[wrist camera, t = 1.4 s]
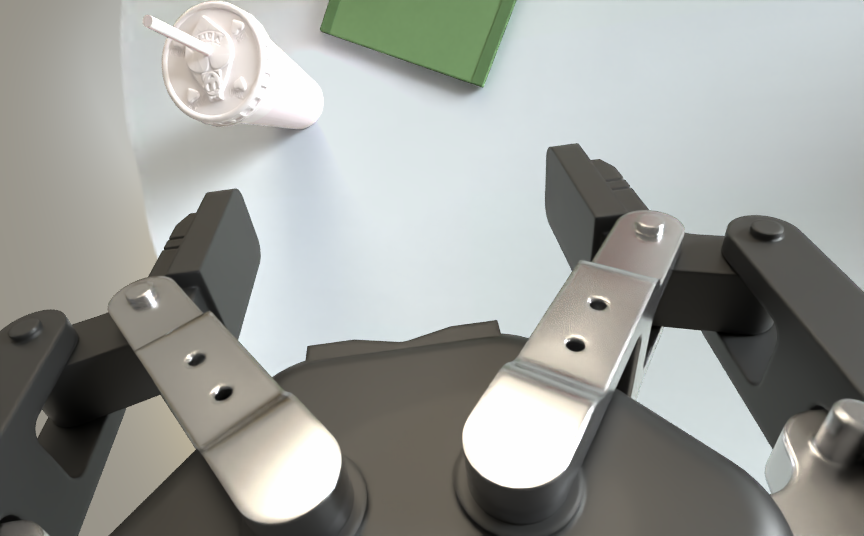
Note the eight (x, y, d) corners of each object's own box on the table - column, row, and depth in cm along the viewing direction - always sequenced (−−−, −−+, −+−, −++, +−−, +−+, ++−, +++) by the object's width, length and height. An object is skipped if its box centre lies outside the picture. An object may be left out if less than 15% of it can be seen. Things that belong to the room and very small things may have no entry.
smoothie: (334, 46, 37) (199, -58, 23) (347, 140, 37) (221, 91, 24) (252, 66, 38) (81, -21, 25) (265, 156, 39) (103, 118, 25)
